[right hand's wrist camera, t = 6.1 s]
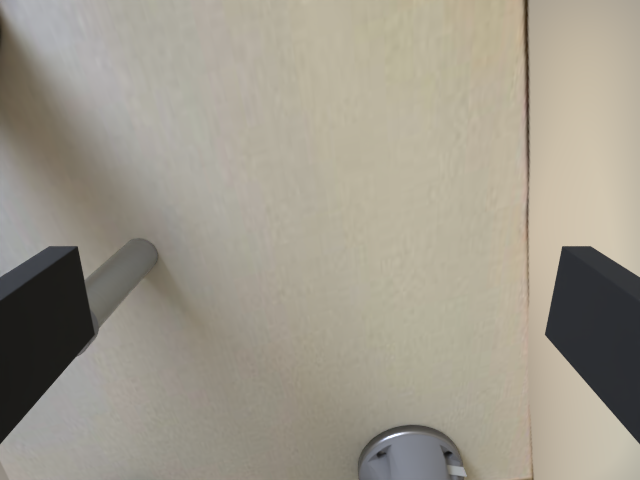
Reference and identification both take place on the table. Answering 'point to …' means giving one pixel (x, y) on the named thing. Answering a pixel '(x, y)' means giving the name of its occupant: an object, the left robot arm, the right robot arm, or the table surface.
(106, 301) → the grey capped cylinder
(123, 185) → the table surface
